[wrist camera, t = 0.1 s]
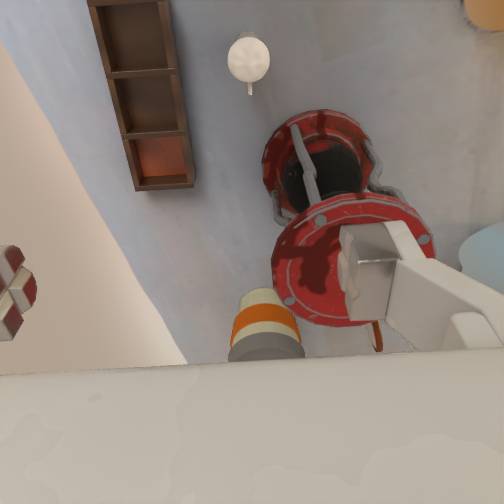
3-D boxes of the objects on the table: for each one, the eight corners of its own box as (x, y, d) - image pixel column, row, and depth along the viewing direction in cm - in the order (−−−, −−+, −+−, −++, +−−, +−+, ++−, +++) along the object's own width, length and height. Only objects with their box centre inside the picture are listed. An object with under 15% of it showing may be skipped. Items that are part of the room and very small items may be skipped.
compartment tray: (94, -5, 48) (85, -2, 45) (167, -10, 48) (163, -7, 45) (140, 180, 62) (135, 191, 59) (196, 176, 62) (194, 187, 59)
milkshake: (231, 73, 53) (229, 96, 45) (228, 25, 50) (225, 41, 42) (266, 71, 53) (271, 94, 45) (265, 24, 50) (270, 39, 42)
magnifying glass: (340, 234, 69) (370, 323, 53) (350, 232, 68) (383, 321, 52) (346, 273, 74) (375, 366, 58) (356, 271, 74) (388, 363, 57)
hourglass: (343, 84, 54) (403, 168, 34) (388, 179, 63) (457, 290, 43) (240, 148, 59) (239, 253, 39) (294, 227, 68) (317, 347, 48)
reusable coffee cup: (246, 336, 83) (247, 403, 71) (218, 293, 76) (214, 359, 64) (306, 317, 80) (317, 383, 68) (282, 271, 73) (291, 336, 61)
